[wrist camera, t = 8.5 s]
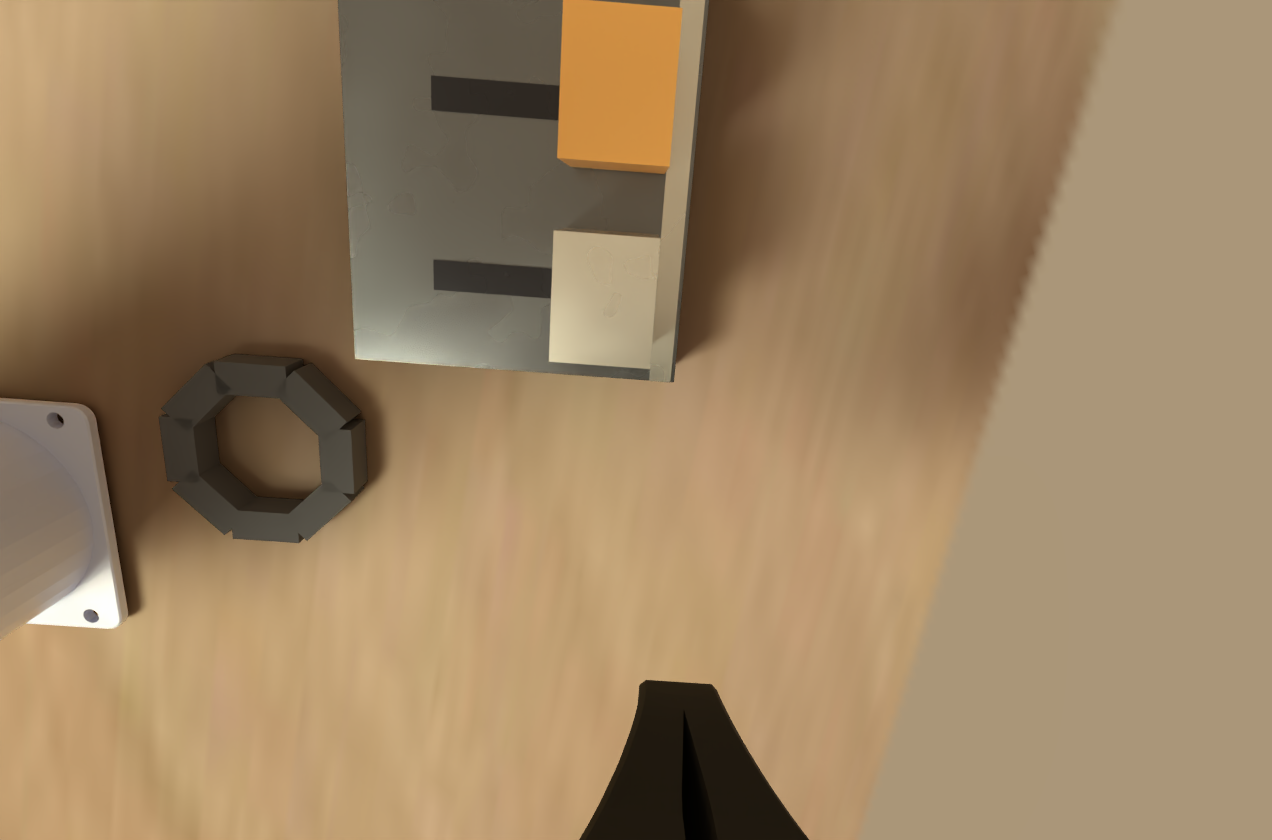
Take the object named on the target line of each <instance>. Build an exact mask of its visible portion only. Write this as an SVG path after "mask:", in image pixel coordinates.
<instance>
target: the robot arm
mask: <svg viewBox="0 0 1272 840" xmlns="http://www.w3.org/2000/svg"><path fill="white" fill-rule="evenodd" d="M57 414H59V415H60V416H61V417H62V418H63V420H64V424H62V423H61V422H60V421H59V420H58V418H57ZM93 610H94V611H95V612H97V613H98V615H99V616H98V615H96V614H95V613H94V612H93ZM127 617H128V609H127V603H126V597H125V591H124V585H123V579H122V573H121V566H120V560H119V554H118V548H117V542H116V536H115V530H114V524H113V518H112V512H111V506H110V500H109V494H108V488H107V482H106V476H105V470H104V464H103V458H102V452H101V446H100V440H99V434H98V428H97V421H96V418H95V415H94V413H93V412H92V411H91V410H90V408H88V407H86V406H85V405H82V404H78V403H66V402H52V401H38V400H24V399H10V398H0V640H2V639H3V638H5V637H6V636H8V635H9V634H11V633H12V632H14V631H15V630H17V629H18V628H20V627H21V626H23V625H24V624H26V623H28V624H43V625H58V626H74V627H89V628H104V629H113V628H116V627H118V626H119V625H121V624H122V623H123V622H124V621H126V619H127ZM580 840H809V839H808V838H807V836H806V835H805V834H804V832H803V831H802V830H801V829H800V827H799V826H798V825H797V823H796V822H795V821H794V819H793V818H792V816H791V815H790V814H789V812H788V811H787V809H786V808H785V807H784V805H783V804H782V802H781V801H780V799H779V798H778V797H777V795H776V794H775V792H774V791H773V789H772V788H771V786H770V785H769V783H768V782H767V780H766V779H765V777H764V775H763V774H762V772H761V771H760V769H759V767H758V766H757V764H756V763H755V761H754V759H753V758H752V756H751V754H750V753H749V751H748V749H747V748H746V746H745V744H744V743H743V741H742V739H741V737H740V736H739V734H738V732H737V730H736V728H735V726H734V725H733V723H732V721H731V719H730V717H729V715H728V713H727V711H726V709H725V707H724V705H723V703H722V701H721V699H720V697H719V694H718V692H717V690H716V689H715V688H714V687H713V685H712V684H698V683H683V682H668V681H653V680H646V681H644V682H643V683H642V684H640V686H639V697H638V706H637V710H636V714H635V718H634V721H633V725H632V728H631V731H630V734H629V737H628V739H627V742H626V745H625V747H624V750H623V753H622V755H621V758H620V761H619V763H618V765H617V768H616V770H615V772H614V774H613V776H612V778H611V781H610V783H609V785H608V787H607V789H606V791H605V793H604V796H603V798H602V800H601V802H600V804H599V806H598V807H597V809H596V811H595V813H594V815H593V817H592V819H591V820H590V822H589V824H588V826H587V828H586V829H585V831H584V833H583V834H582V836H581V838H580Z"/></svg>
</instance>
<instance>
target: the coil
mask: <svg viewBox="0 0 1272 840" xmlns="http://www.w3.org/2000/svg"><path fill="white" fill-rule="evenodd" d="M236 395H238V396H252V397H266V398H279V399H280V400H281V401H282V402H283V403H284V404H285V405H286V406H288V407H289V408H290V409H291V410H292V411H293V412H294V413H295V414H296V415H297V416H298V417H299V418H300V419H301V420H302V421H303V422H304V423H305V424H306V425H307V426H308V427H310V428H311V429H312V430H313V431H314V432H315V433H316V434H317V435H318V437H319V452H320V467H321V483H322V484H321V485H320V486H319V487H318V488H317V489H316V490H315V491H313V492H312V493H311V494H310V495H309V496H308V497H307V498H306V499H305V500H298V499H284V498H269V497H257V496H256V495H254V494H253V493H252V492H251V491H250V490H249V489H248V488H247V487H246V486H245V485H243V484H242V483H241V482H240V481H239V480H238V479H237V478H236V477H235V476H233V475H232V474H231V473H230V472H229V471H228V470H227V469H226V468H225V467H224V466H222V465H221V464H220V461H219V452H218V443H217V434H216V425H215V416H216V415H217V414H218V413H219V412H220V411H221V410H222V409H223V408H224V407H225V406H226V405H227V404H228V403H229V402H230V401H231V400H232V399H233V398H234V397H235V396H236ZM161 409H162V410H163V411H164V412H165V413H166V414H164V415H161V416H159V423H160V430H161V437H162V445H163V452H164V459H165V466H166V474H167V481H176V482H179V483H177V484H176V485H175V486H174V487H173V488H172V489H173V490H174V491H175V492H176V493H177V494H178V495H179V496H181V497H182V498H183V499H184V500H185V501H186V502H187V503H189V504H190V505H191V506H192V507H193V508H194V509H195V510H197V511H198V512H199V513H200V514H201V515H202V516H203V517H205V518H206V519H207V520H208V521H209V522H210V523H211V524H213V525H214V526H215V527H216V528H217V529H218V530H219V531H220V532H222V533H223V534H224V535H225V534H227V533H228V532H229V531H230V530H232V533H233V539H247V540H262V541H276V542H291V543H300V542H301V541H302V540H303V539H304V538H305V539H306V540H308V539H309V538H311V537H312V536H313V535H314V534H315V533H316V532H317V531H318V530H320V529H321V528H322V527H323V526H324V525H325V524H326V523H327V522H329V521H330V520H331V519H332V518H333V517H334V516H335V515H336V514H338V513H339V512H340V511H341V510H342V509H343V508H344V507H345V506H347V505H348V504H349V503H350V502H351V501H352V500H353V499H354V498H355V497H356V496H357V495H358V494H359V493H360V492H361V491H362V490H363V489H364V487H363V485H364V484H365V483H366V482H367V481H368V479H367V456H366V434H365V420H361V419H354V418H355V417H356V416H357V415H358V414H359V413H360V412H361V411H360V410H359V409H358V408H357V407H356V406H355V405H354V404H353V403H352V402H351V401H350V400H349V399H348V398H347V397H346V396H345V395H344V394H343V393H342V392H341V391H340V390H339V389H338V388H337V387H336V386H335V385H334V384H332V383H331V382H330V381H329V380H328V379H327V378H326V377H325V376H324V375H323V374H322V373H321V372H320V371H319V370H318V369H317V368H316V367H315V366H314V365H313V364H312V363H310V364H307V365H305V366H303V359H298V358H284V357H270V356H257V355H243V354H233V355H230V356H227V357H224V358H221V359H218V360H215V361H213V362H210V363H207V364H205V365H204V366H203V367H202V368H201V369H200V370H199V371H198V372H197V373H196V374H195V375H194V376H193V377H192V378H191V379H190V380H189V381H188V382H187V383H186V384H185V385H184V386H183V387H182V388H181V389H180V390H179V391H178V392H177V393H176V394H175V395H174V396H173V397H172V398H171V399H170V400H169V401H168V402H167V403H166V404H165V405H164V406H163V407H162V408H161Z"/></svg>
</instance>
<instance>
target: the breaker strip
mask: <svg viewBox="0 0 1272 840" xmlns="http://www.w3.org/2000/svg"><path fill="white" fill-rule="evenodd" d="M593 1H605V2H617V3H630V4H642V5H654V6H666V7H678V8H683V10H682V22H681V34H680V46H679V58H678V70H677V83H676V95H675V107H674V119H673V131H672V143H671V155H670V167H669V168H668V170H667V171H666V173H665V174H656V173H643V172H630V171H617V170H604V169H592V168H579V167H570V166H569V165H567V164H566V163H564V162H563V161H561V160H560V159H558V158H557V150H558V123H559V96H560V69H561V42H562V15H563V0H338V13H339V34H340V55H341V76H342V97H343V118H344V138H345V159H346V180H347V201H348V222H349V243H350V264H351V284H352V305H353V326H354V347H355V359H362V360H376V361H389V362H403V363H417V364H431V365H444V366H458V367H472V368H485V369H499V370H513V371H527V372H540V373H554V374H568V375H582V376H595V377H609V378H623V379H636V380H649V381H658V382H674V375H675V364H676V353H677V342H678V331H679V320H680V310H681V299H682V288H683V277H684V266H685V256H686V245H687V234H688V223H689V212H690V201H691V191H692V180H693V169H694V158H695V147H696V136H697V126H698V115H699V104H700V93H701V82H702V71H703V61H704V50H705V39H706V28H707V17H708V6H709V0H593Z"/></svg>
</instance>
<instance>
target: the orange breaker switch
mask: <svg viewBox="0 0 1272 840" xmlns="http://www.w3.org/2000/svg"><path fill="white" fill-rule="evenodd" d="M682 10H683V8H678V7H666V6H654V5H642V4H630V3H617V2H605V1H593V0H563V15H562V42H561V69H560V96H559V123H558V150H557V158H558V159H560V160H561V161H563V162H564V163H566V164H567V165H569V166H570V167H579V168H592V169H604V170H617V171H630V172H643V173H656V174H665V173H666V171H667V170H668V168H669V167H670V155H671V143H672V131H673V119H674V107H675V95H676V83H677V70H678V58H679V46H680V34H681V22H682Z"/></svg>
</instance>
